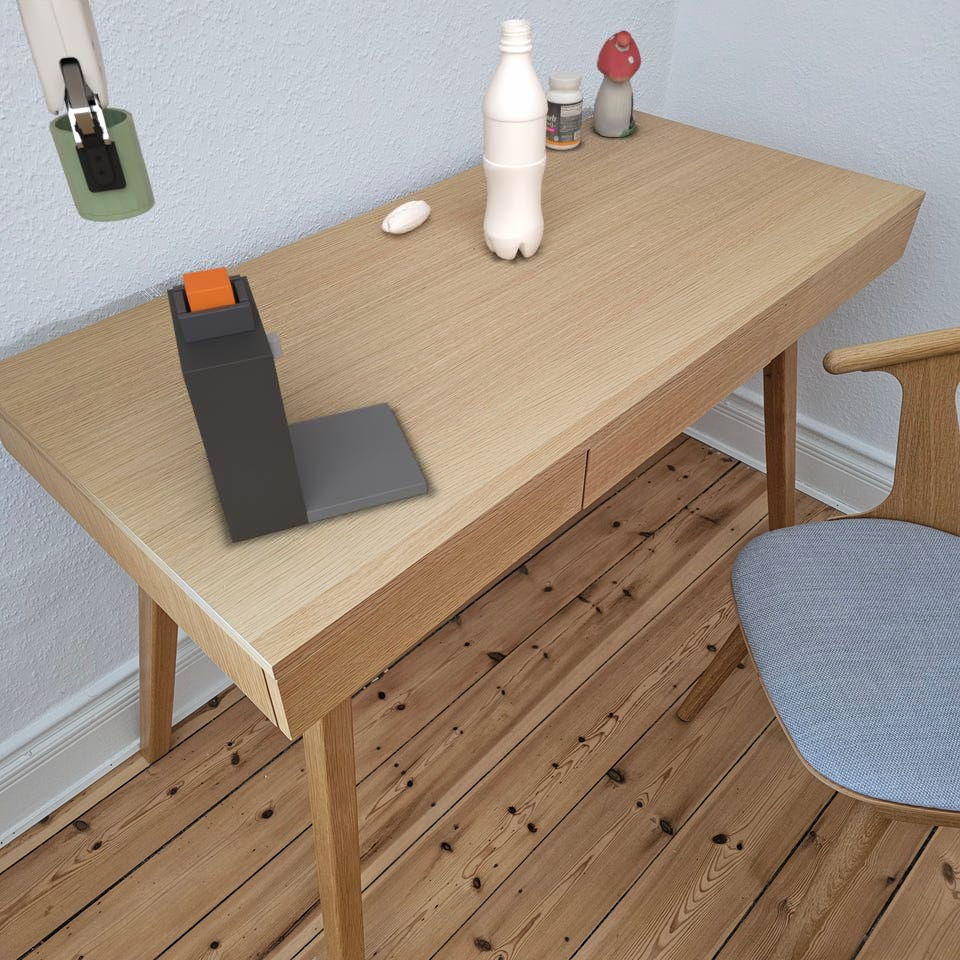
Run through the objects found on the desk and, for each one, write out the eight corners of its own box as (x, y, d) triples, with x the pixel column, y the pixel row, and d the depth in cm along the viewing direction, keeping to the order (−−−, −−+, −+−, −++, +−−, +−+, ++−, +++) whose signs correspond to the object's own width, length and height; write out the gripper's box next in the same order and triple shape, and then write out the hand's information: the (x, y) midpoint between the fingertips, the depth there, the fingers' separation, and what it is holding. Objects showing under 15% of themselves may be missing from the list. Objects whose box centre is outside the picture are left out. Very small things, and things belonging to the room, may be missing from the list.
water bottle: (508, 232, 107) (509, 10, 90) (554, 248, 103) (565, 21, 87) (471, 253, 103) (466, 25, 86) (518, 270, 99) (522, 36, 83)
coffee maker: (232, 543, 66) (174, 347, 55) (213, 452, 75) (159, 265, 63) (427, 493, 70) (412, 300, 59) (388, 412, 79) (368, 229, 67)
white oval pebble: (379, 236, 107) (376, 215, 105) (418, 213, 111) (416, 192, 110) (398, 242, 105) (396, 221, 103) (437, 219, 110) (436, 198, 108)
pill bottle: (536, 141, 130) (537, 72, 124) (568, 135, 132) (572, 66, 125) (554, 153, 126) (556, 83, 120) (587, 147, 128) (591, 77, 122)
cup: (78, 226, 77) (48, 137, 72) (78, 198, 82) (49, 113, 77) (157, 215, 79) (133, 126, 74) (152, 188, 84) (130, 103, 79)
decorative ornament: (626, 143, 129) (636, 35, 119) (584, 138, 131) (591, 31, 121) (640, 123, 135) (651, 19, 126) (600, 118, 137) (608, 16, 127)
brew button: (194, 322, 59) (186, 293, 57) (189, 301, 61) (182, 273, 59) (237, 313, 60) (231, 285, 58) (232, 294, 62) (225, 266, 60)
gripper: (-4, -61, 73) (65, 149, 84) (-20, -25, 60) (63, 216, 72) (88, -67, 75) (143, 139, 86) (92, -33, 62) (155, 203, 74)
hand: (106, 173), depth 79 cm, fingers closed on cup, 7 cm apart
